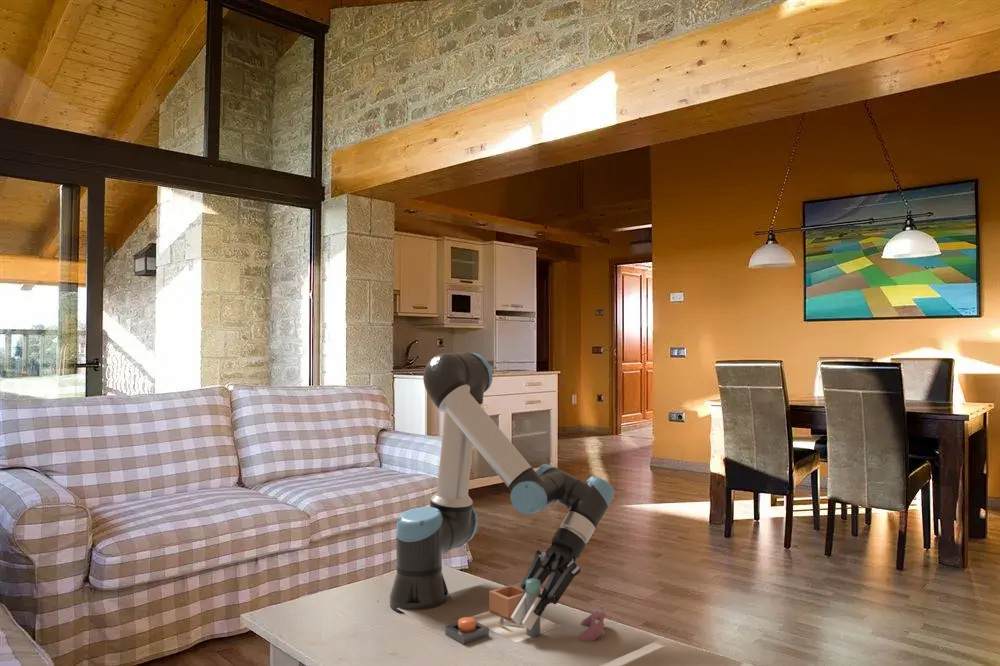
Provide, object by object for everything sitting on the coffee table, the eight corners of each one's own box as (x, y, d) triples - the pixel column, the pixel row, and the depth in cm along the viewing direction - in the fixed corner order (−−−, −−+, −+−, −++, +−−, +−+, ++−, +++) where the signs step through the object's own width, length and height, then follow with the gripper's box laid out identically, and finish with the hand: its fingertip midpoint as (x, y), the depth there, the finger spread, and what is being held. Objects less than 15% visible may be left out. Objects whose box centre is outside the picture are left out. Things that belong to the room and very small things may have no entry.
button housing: (445, 639, 159) (445, 626, 159) (470, 631, 164) (470, 618, 164) (463, 650, 154) (463, 636, 154) (488, 641, 158) (488, 628, 158)
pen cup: (489, 611, 173) (489, 591, 173) (511, 604, 177) (511, 584, 177) (508, 620, 167) (507, 599, 167) (530, 613, 172) (530, 592, 172)
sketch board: (461, 622, 169) (461, 617, 169) (512, 606, 179) (512, 601, 179) (515, 650, 153) (515, 645, 153) (567, 631, 164) (567, 626, 164)
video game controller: (594, 654, 155) (608, 626, 155) (575, 643, 156) (589, 616, 156) (596, 635, 165) (610, 610, 165) (579, 625, 166) (592, 600, 165)
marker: (523, 633, 160) (522, 580, 160) (533, 629, 162) (533, 577, 162) (532, 638, 157) (532, 584, 157) (543, 634, 159) (543, 581, 159)
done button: (454, 628, 159) (454, 620, 159) (468, 624, 162) (468, 615, 162) (465, 634, 156) (465, 625, 156) (479, 629, 159) (479, 621, 159)
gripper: (605, 552, 163) (554, 644, 152) (557, 537, 176) (506, 621, 165) (589, 533, 160) (535, 626, 149) (541, 519, 172) (488, 604, 162)
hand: (520, 623), depth 157 cm, fingers closed on marker, 3 cm apart
